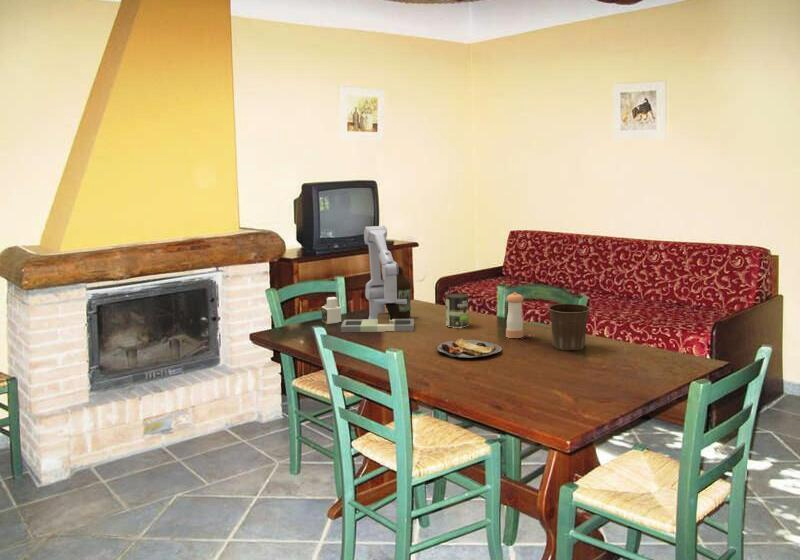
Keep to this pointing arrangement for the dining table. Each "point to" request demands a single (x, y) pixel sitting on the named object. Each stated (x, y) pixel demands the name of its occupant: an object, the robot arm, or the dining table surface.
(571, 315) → the plant pot
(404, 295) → the olive oil
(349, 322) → the trap lane
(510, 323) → the pepper shaker
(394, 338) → the dining table surface
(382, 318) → the walnut block
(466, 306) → the coffee can
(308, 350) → the dining table surface
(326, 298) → the medicine bottle
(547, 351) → the dining table surface
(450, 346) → the food plate
